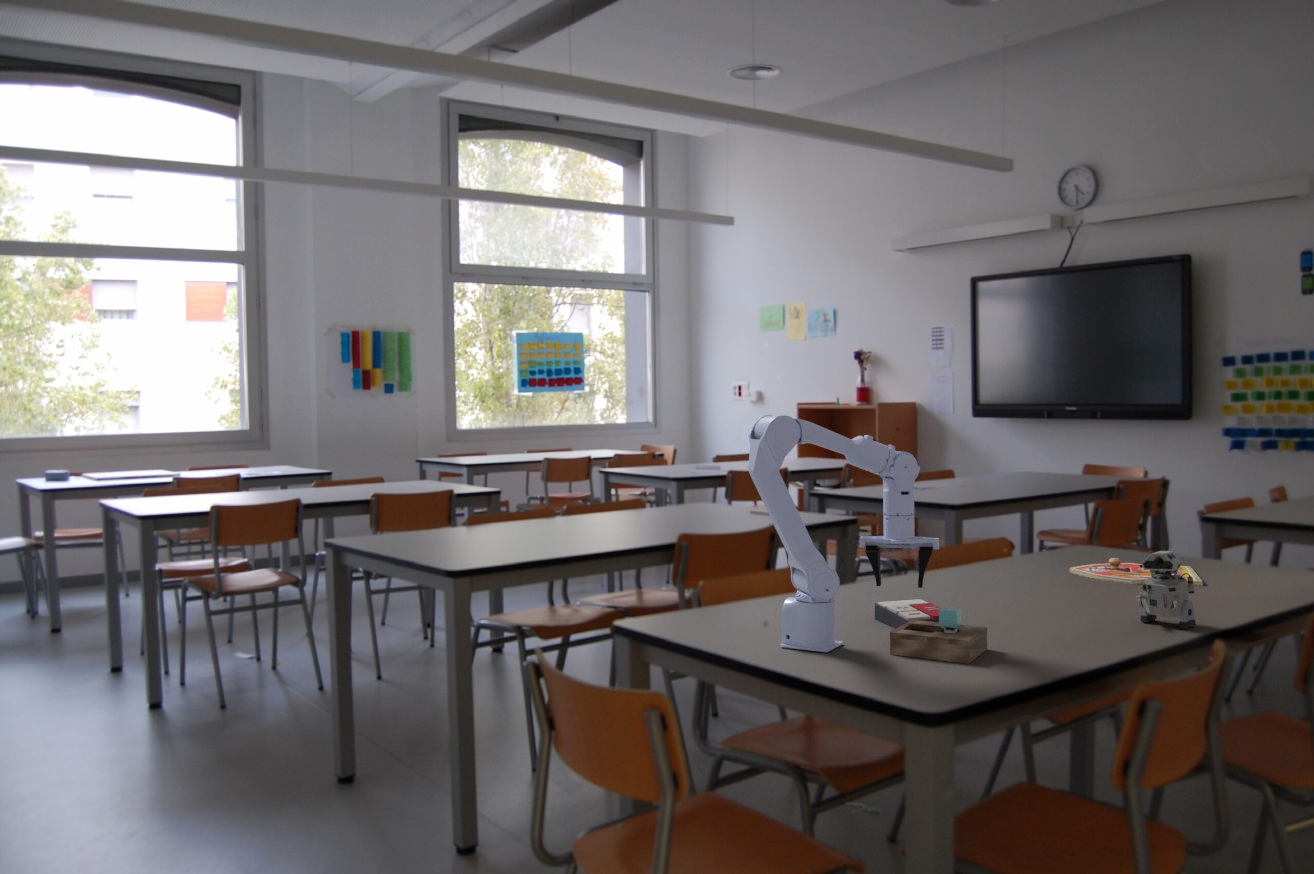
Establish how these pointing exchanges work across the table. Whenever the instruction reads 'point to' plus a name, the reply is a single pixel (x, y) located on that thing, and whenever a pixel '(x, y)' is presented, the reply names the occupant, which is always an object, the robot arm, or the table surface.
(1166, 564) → the figurine
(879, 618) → the calculator
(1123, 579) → the knob puzzle
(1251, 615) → the table surface
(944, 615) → the peg
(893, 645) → the keyhole plate
